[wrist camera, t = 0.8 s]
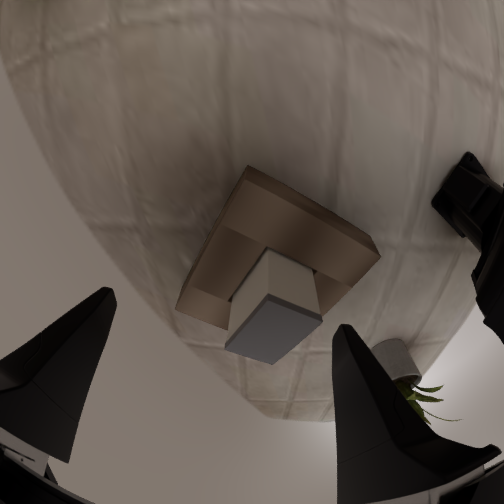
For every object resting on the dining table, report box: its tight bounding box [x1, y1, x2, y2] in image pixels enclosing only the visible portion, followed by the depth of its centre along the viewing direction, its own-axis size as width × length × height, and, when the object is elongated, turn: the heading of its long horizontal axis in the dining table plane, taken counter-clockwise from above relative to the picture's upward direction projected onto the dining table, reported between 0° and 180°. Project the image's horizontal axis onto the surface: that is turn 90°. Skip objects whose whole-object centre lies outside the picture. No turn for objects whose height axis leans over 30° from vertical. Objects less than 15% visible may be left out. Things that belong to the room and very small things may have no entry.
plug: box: [225, 246, 323, 365], centre depth 21 cm, size 4×6×7 cm
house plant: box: [371, 339, 451, 425], centre depth 26 cm, size 14×14×16 cm
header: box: [175, 165, 381, 330], centre depth 23 cm, size 12×14×3 cm
